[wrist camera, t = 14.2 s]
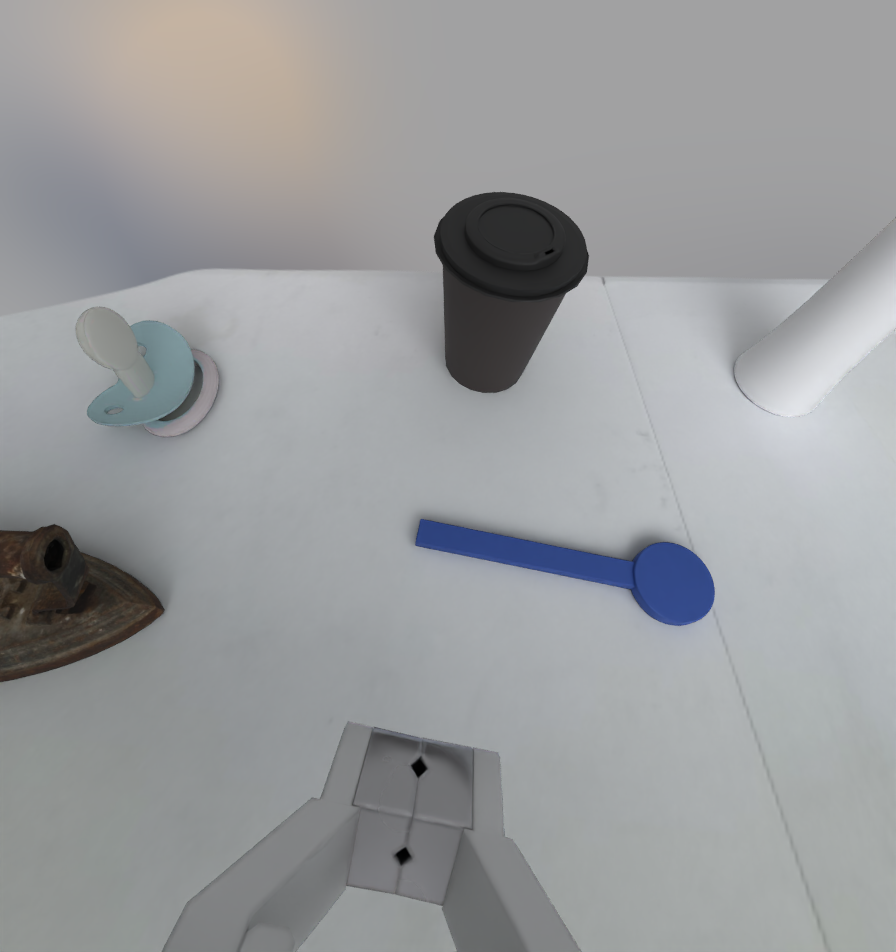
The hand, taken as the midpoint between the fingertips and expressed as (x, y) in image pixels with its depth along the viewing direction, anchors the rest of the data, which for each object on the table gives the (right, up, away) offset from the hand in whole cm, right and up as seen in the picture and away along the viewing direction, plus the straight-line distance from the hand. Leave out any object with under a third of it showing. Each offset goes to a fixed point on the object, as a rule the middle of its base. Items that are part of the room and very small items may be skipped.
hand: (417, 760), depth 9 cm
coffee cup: (+3, +13, +23) cm, 27 cm away
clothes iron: (-19, -1, +14) cm, 23 cm away
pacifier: (-16, +10, +20) cm, 28 cm away
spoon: (+7, +1, +17) cm, 18 cm away
